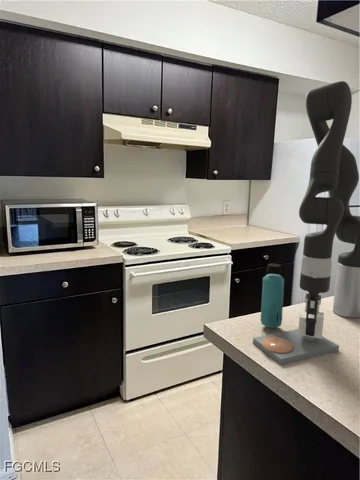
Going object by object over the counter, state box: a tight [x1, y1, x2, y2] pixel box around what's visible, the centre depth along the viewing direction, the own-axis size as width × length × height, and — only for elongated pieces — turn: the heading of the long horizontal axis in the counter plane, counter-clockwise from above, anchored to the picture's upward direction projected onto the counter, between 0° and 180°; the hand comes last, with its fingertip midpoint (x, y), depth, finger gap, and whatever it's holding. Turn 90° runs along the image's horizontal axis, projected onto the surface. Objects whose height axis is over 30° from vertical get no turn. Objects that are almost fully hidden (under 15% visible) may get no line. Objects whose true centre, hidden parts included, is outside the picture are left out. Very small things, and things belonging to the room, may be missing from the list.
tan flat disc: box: [262, 337, 293, 353], centre depth 91 cm, size 8×8×1 cm
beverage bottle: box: [260, 263, 285, 328], centre depth 103 cm, size 6×7×20 cm
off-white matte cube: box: [297, 309, 325, 339], centre depth 94 cm, size 6×6×5 cm
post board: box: [252, 328, 340, 365], centre depth 93 cm, size 19×12×8 cm, turn 112°
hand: (310, 328), depth 95 cm, fingers open, 8 cm apart
